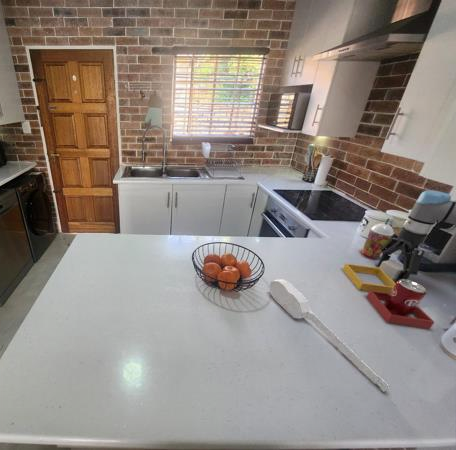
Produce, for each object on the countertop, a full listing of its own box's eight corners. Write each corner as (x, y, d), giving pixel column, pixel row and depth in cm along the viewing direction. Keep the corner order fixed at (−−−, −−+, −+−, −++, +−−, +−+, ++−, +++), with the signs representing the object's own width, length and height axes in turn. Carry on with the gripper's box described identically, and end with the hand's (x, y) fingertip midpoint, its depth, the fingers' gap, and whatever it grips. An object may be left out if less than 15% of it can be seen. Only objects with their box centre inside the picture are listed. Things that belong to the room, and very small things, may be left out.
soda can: (376, 307, 88) (392, 281, 82) (388, 302, 90) (404, 276, 85) (401, 323, 82) (420, 295, 76) (413, 317, 84) (432, 290, 79)
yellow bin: (375, 275, 105) (379, 267, 104) (396, 296, 94) (401, 288, 92) (341, 271, 107) (345, 263, 106) (358, 291, 96) (362, 283, 94)
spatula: (366, 403, 62) (377, 398, 63) (384, 386, 58) (395, 381, 59) (265, 292, 92) (274, 290, 93) (272, 276, 88) (281, 274, 89)
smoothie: (355, 250, 124) (372, 213, 114) (373, 252, 123) (392, 215, 114) (365, 259, 116) (384, 221, 107) (384, 261, 115) (405, 223, 106)
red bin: (401, 303, 91) (407, 295, 89) (428, 331, 80) (434, 322, 78) (365, 298, 92) (369, 290, 91) (385, 324, 82) (391, 315, 80)
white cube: (391, 281, 102) (398, 270, 99) (376, 272, 107) (382, 261, 104) (401, 279, 104) (408, 267, 101) (385, 270, 109) (392, 259, 106)
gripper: (385, 216, 106) (363, 259, 116) (427, 244, 86) (396, 292, 96) (404, 218, 105) (381, 261, 115) (452, 247, 85) (418, 295, 95)
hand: (388, 275), depth 105 cm, fingers open, 11 cm apart
